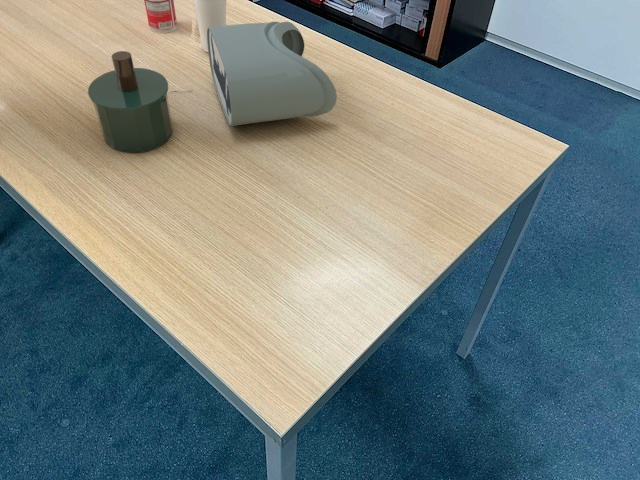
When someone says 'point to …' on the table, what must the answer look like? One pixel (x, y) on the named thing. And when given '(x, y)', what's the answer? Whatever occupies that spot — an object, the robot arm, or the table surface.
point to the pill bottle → (161, 15)
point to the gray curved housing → (266, 73)
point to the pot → (136, 127)
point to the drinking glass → (209, 17)
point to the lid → (127, 86)
